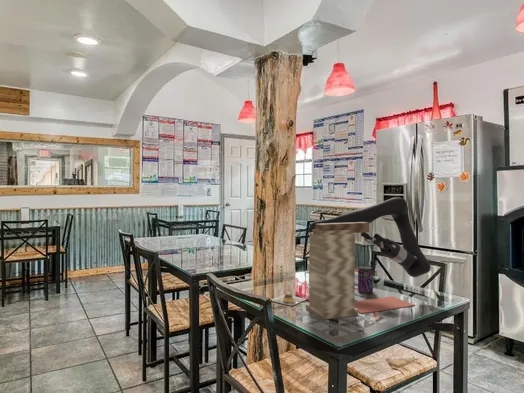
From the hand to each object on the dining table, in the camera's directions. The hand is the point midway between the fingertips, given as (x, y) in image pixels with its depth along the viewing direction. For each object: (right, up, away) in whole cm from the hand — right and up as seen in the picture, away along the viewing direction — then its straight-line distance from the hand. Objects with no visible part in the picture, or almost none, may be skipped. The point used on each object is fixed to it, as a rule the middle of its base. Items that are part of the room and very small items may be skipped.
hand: (368, 234), depth 156 cm
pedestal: (-17, -31, -6) cm, 36 cm away
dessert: (-33, -32, +8) cm, 47 cm away
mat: (+5, -31, +2) cm, 31 cm away
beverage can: (+5, -31, +23) cm, 39 cm away
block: (-12, +1, -5) cm, 13 cm away
